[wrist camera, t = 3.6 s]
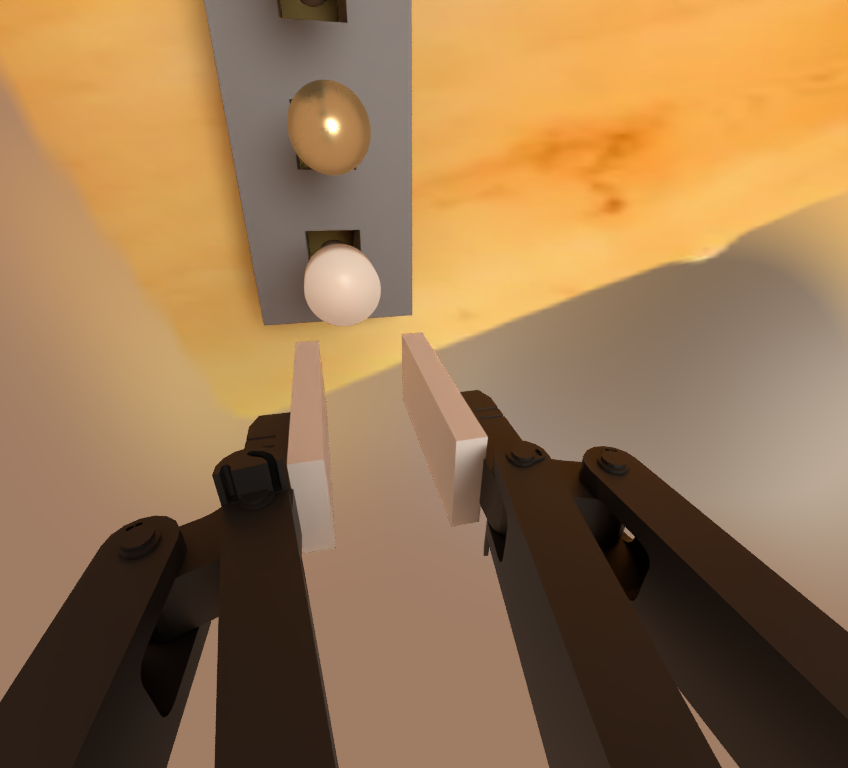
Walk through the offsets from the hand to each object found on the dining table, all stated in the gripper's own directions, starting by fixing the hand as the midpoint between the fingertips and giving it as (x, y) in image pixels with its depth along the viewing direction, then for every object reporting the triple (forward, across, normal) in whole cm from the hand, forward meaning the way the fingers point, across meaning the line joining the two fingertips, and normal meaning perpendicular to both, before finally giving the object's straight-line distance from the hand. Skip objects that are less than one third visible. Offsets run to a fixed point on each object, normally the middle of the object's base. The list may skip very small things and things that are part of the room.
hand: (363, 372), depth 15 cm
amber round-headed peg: (+20, 0, +8) cm, 22 cm away
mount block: (+27, 0, +8) cm, 28 cm away
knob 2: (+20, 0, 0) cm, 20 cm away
